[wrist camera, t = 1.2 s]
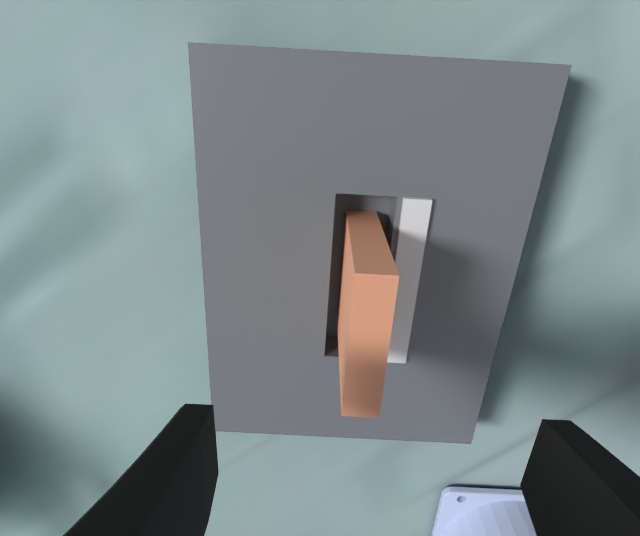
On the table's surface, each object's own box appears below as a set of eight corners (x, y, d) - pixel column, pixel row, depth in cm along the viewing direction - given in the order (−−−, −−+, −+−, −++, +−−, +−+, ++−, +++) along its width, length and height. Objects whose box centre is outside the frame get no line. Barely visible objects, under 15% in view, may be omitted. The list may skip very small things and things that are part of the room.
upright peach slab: (376, 210, 17) (399, 275, 12) (363, 319, 19) (378, 417, 14) (345, 209, 17) (354, 273, 12) (337, 318, 19) (341, 416, 14)
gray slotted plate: (542, 65, 15) (574, 65, 13) (459, 413, 22) (472, 447, 20) (204, 46, 15) (186, 42, 13) (222, 401, 22) (212, 434, 20)
